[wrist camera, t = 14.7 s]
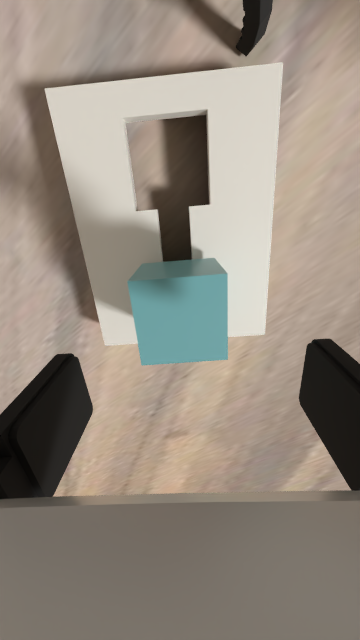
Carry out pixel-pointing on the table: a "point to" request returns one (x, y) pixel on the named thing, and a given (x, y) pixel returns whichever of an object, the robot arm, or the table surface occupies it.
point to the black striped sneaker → (254, 23)
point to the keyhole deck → (205, 220)
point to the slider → (180, 311)
